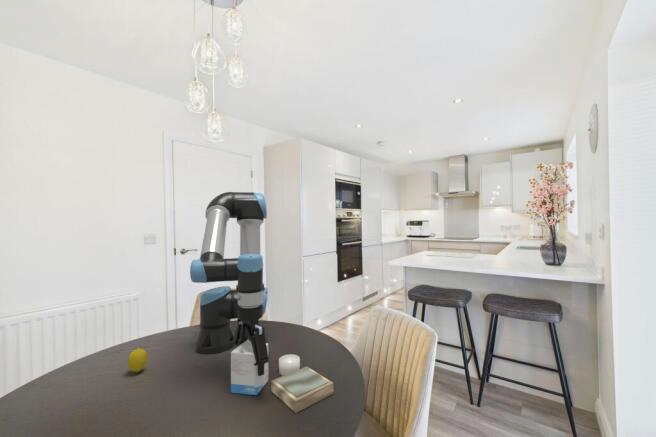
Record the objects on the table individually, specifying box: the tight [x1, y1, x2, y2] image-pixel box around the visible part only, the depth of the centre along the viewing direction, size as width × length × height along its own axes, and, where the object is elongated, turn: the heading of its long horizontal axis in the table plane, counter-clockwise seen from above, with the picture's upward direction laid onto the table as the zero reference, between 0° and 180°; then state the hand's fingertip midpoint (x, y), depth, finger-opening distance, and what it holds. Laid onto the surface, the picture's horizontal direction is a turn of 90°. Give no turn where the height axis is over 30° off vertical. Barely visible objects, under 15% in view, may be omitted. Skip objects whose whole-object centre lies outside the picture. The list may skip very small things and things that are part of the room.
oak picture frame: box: [270, 366, 334, 414], centre depth 82 cm, size 13×13×3 cm
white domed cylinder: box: [278, 353, 301, 376], centre depth 94 cm, size 7×7×4 cm
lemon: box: [127, 347, 148, 373], centre depth 94 cm, size 6×6×8 cm
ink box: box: [230, 339, 269, 396], centre depth 85 cm, size 9×8×13 cm
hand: (250, 377), depth 85 cm, fingers closed on ink box, 11 cm apart
